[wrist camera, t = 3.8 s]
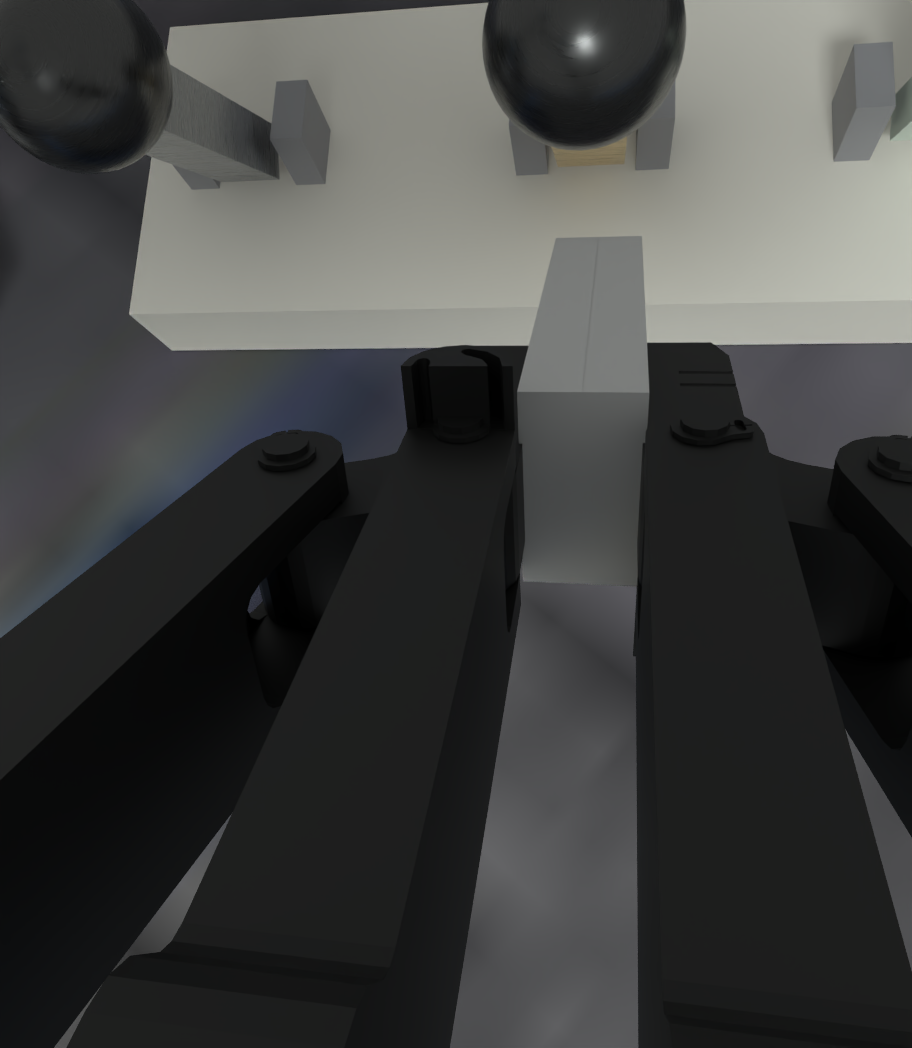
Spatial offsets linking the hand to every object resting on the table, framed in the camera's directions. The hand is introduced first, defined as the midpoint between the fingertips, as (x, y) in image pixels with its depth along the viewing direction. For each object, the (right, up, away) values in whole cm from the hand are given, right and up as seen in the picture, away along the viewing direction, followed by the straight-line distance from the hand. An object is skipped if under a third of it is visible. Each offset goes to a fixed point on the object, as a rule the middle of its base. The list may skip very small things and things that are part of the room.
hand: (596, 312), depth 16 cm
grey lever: (-9, +8, +13) cm, 18 cm away
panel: (+2, +7, +14) cm, 16 cm away
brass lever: (+2, +8, +11) cm, 14 cm away
